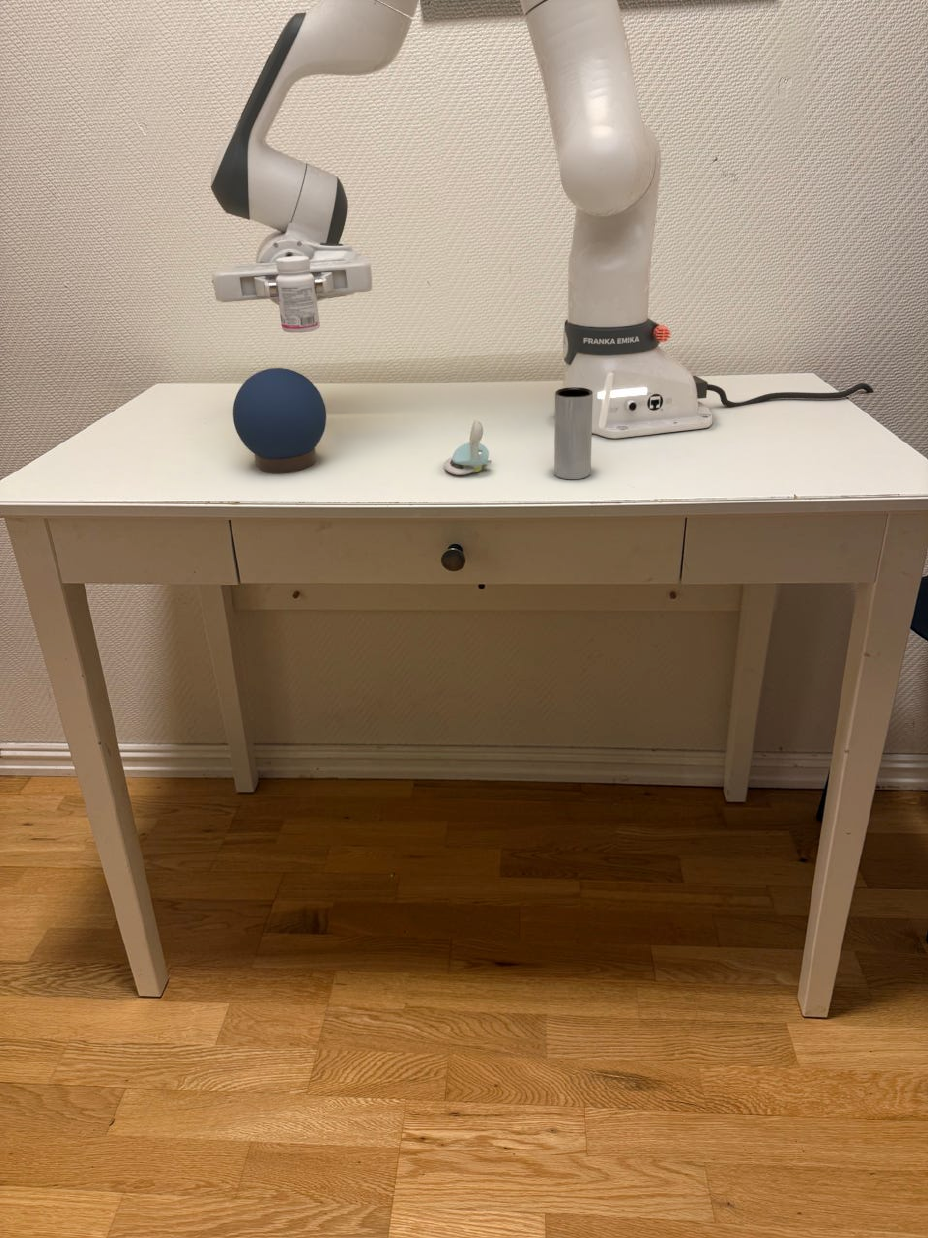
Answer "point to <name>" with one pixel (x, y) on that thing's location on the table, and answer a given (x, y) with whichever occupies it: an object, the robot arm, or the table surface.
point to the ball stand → (286, 463)
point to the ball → (279, 414)
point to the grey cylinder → (573, 432)
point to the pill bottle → (296, 295)
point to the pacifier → (470, 453)
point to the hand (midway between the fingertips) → (296, 288)
